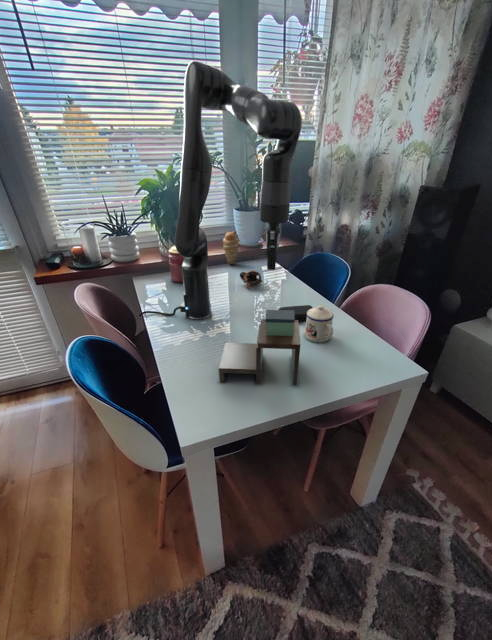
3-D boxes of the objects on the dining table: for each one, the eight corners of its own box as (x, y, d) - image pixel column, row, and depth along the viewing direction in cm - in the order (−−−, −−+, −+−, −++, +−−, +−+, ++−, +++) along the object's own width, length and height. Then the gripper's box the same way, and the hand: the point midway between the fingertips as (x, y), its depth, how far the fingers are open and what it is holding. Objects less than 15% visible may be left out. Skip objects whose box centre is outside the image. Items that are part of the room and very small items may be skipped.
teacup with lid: (299, 333, 116) (302, 303, 110) (320, 328, 119) (324, 298, 113) (318, 349, 107) (322, 317, 101) (340, 343, 110) (346, 312, 104)
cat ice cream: (240, 262, 185) (239, 229, 175) (237, 266, 179) (236, 232, 169) (225, 261, 187) (223, 228, 177) (222, 265, 180) (219, 231, 170)
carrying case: (282, 325, 121) (320, 322, 124) (283, 318, 120) (321, 314, 122) (276, 313, 130) (311, 310, 132) (276, 306, 129) (312, 303, 131)
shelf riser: (219, 382, 93) (216, 342, 85) (226, 355, 104) (224, 318, 97) (296, 385, 91) (300, 344, 84) (295, 358, 103) (298, 320, 95)
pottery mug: (265, 284, 158) (266, 272, 151) (256, 298, 155) (256, 287, 147) (243, 274, 161) (243, 263, 153) (234, 288, 157) (233, 277, 150)
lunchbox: (265, 335, 88) (265, 318, 85) (265, 325, 93) (266, 309, 90) (293, 336, 87) (294, 319, 85) (292, 326, 92) (294, 310, 89)
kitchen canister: (176, 273, 170) (171, 238, 160) (200, 274, 169) (196, 239, 159) (167, 282, 159) (161, 245, 150) (192, 283, 158) (188, 246, 148)
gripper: (262, 196, 88) (260, 256, 98) (257, 205, 77) (256, 272, 86) (290, 197, 88) (285, 257, 97) (289, 206, 76) (284, 273, 85)
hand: (271, 264), depth 91 cm, fingers open, 8 cm apart
